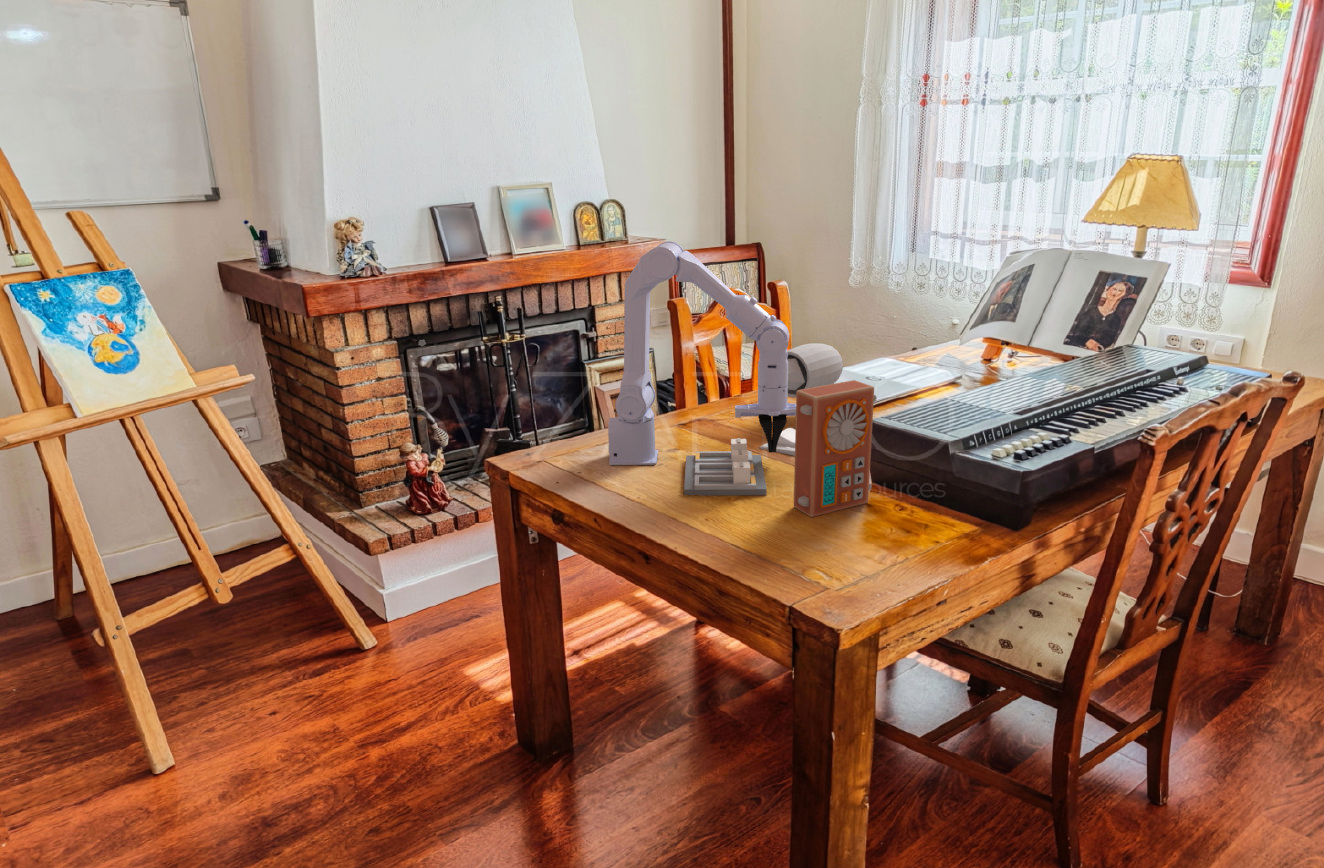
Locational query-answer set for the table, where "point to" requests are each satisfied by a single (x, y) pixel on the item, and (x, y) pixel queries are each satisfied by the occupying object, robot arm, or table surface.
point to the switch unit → (721, 475)
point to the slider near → (741, 472)
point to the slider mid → (739, 456)
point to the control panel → (833, 447)
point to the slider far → (738, 444)
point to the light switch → (785, 442)
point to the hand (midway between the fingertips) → (771, 450)
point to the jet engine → (812, 367)
